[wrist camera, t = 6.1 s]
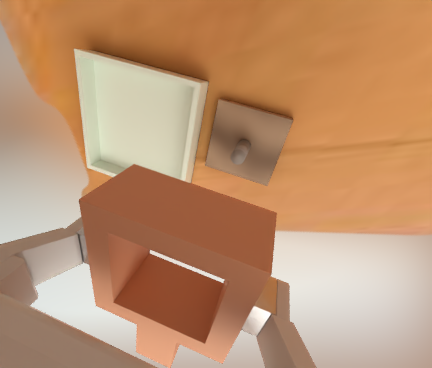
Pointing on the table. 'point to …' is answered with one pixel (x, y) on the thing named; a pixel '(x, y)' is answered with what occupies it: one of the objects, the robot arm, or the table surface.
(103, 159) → the tray
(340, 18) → the table surface
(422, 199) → the table surface
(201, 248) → the orange frame with handle
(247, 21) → the table surface
